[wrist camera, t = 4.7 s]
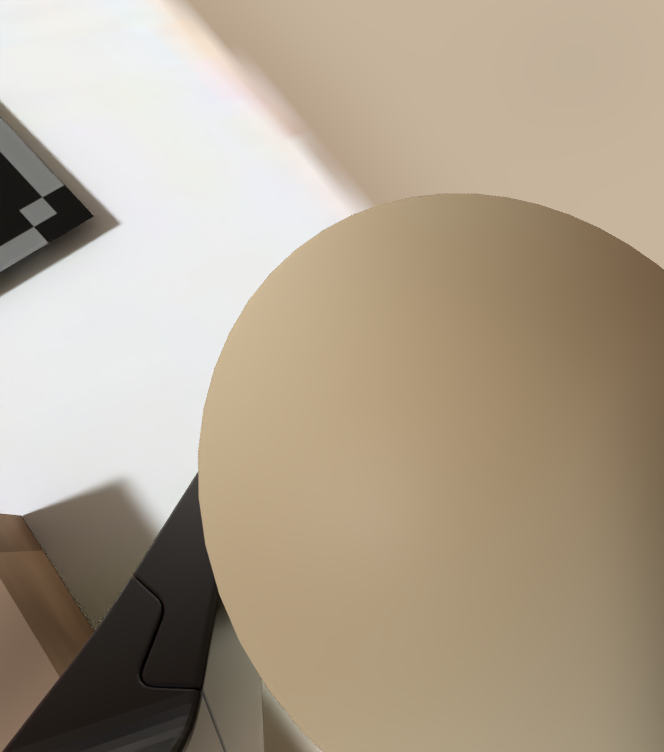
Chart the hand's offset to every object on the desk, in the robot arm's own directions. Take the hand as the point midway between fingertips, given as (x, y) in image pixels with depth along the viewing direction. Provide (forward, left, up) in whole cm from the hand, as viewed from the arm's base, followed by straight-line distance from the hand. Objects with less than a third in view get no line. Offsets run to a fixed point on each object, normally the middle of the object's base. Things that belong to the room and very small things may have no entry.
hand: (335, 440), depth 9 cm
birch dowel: (-1, +1, -7) cm, 7 cm away
